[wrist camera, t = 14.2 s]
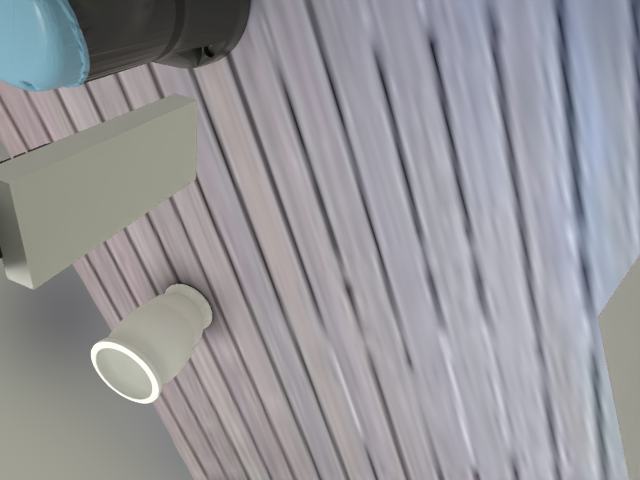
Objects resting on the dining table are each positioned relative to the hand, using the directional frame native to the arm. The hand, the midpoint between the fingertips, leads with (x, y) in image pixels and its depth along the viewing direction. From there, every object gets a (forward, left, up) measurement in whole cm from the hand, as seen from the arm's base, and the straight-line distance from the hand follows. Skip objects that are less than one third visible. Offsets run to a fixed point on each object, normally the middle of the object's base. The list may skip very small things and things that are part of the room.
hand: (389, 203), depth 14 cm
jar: (-29, -46, -35) cm, 65 cm away
